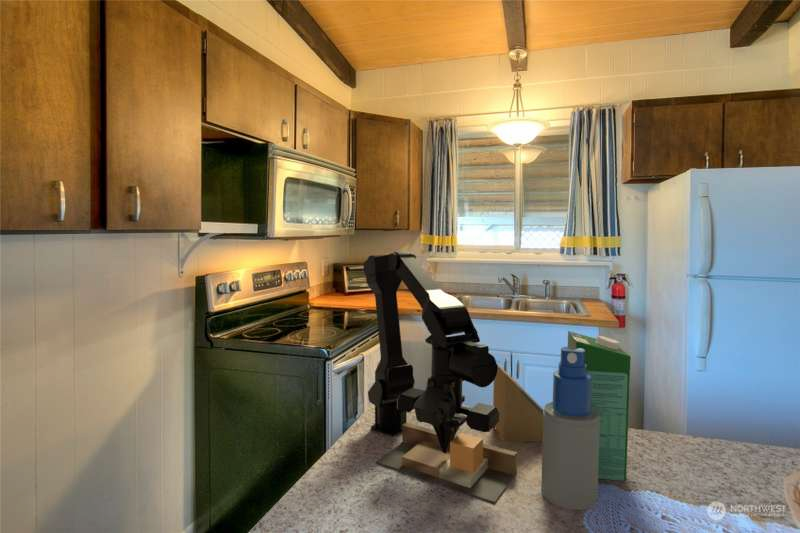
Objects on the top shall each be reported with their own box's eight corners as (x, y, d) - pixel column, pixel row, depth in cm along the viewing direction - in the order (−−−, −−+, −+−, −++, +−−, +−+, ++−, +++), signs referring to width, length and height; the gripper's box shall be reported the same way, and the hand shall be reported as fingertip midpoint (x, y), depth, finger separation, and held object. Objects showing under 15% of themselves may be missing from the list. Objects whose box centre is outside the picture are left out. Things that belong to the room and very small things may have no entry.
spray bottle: (595, 516, 69) (600, 358, 67) (536, 500, 73) (539, 351, 72) (599, 487, 77) (603, 345, 75) (546, 474, 81) (549, 340, 79)
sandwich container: (574, 440, 95) (576, 372, 94) (504, 443, 94) (505, 373, 93) (557, 423, 104) (558, 360, 102) (492, 425, 102) (493, 362, 101)
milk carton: (626, 481, 79) (631, 343, 77) (572, 476, 81) (576, 340, 79) (612, 456, 88) (616, 332, 86) (564, 452, 89) (567, 330, 88)
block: (449, 466, 80) (450, 441, 80) (460, 455, 84) (460, 432, 84) (472, 473, 78) (473, 448, 77) (482, 462, 82) (483, 438, 81)
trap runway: (375, 463, 85) (375, 442, 85) (405, 440, 94) (406, 422, 94) (494, 503, 72) (495, 480, 72) (516, 473, 81) (516, 452, 81)
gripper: (380, 373, 80) (380, 456, 81) (476, 394, 70) (474, 489, 71) (412, 359, 89) (411, 434, 91) (501, 375, 79) (499, 459, 81)
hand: (445, 452), depth 83 cm, fingers closed
